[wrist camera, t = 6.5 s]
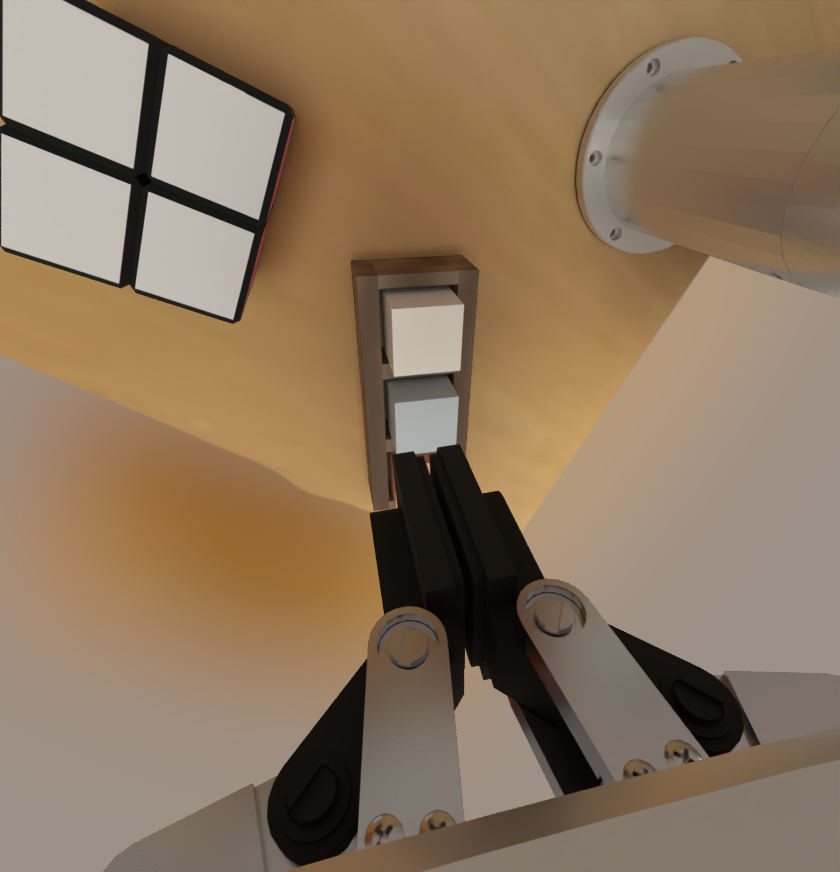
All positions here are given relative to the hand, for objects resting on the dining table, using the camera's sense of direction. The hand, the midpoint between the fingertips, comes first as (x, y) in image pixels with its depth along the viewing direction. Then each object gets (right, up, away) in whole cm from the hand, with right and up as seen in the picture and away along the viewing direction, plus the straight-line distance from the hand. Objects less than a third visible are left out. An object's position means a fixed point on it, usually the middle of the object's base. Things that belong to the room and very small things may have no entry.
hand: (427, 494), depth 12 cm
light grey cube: (0, +4, +24) cm, 25 cm away
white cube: (0, +10, +21) cm, 23 cm away
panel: (-1, +6, +27) cm, 27 cm away
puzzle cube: (-14, +18, +16) cm, 28 cm away
